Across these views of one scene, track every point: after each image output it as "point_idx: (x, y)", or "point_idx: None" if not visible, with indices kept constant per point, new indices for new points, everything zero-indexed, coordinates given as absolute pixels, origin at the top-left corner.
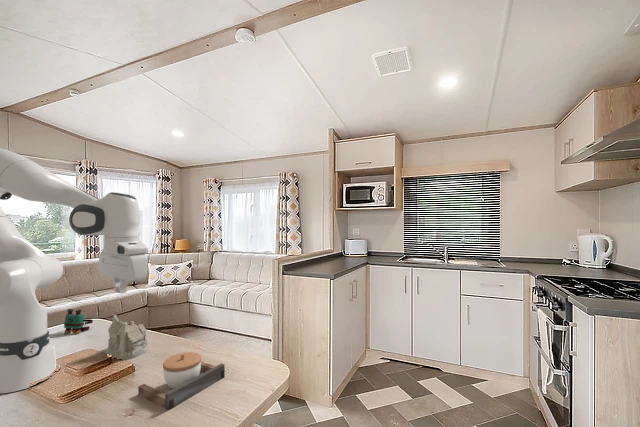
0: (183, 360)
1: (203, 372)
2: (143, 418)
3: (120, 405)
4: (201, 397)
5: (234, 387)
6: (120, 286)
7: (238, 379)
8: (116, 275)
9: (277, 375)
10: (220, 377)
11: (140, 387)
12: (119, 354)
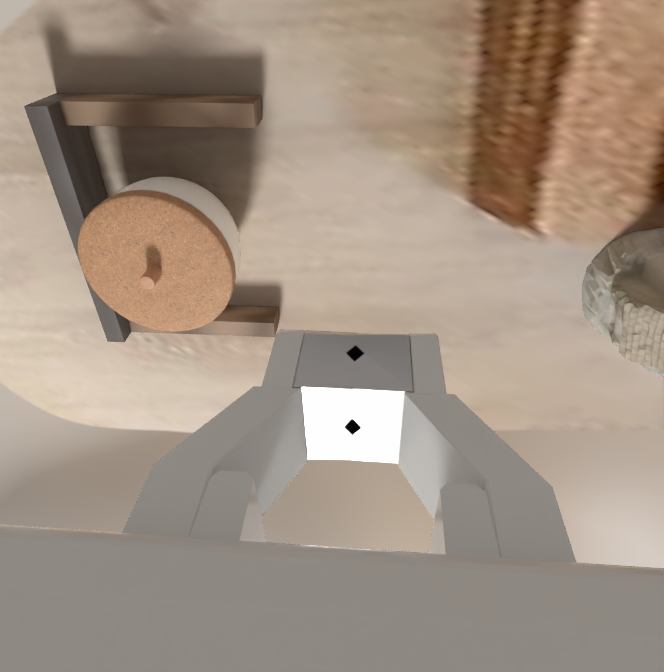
0: (137, 265)
1: None
2: (69, 4)
3: (242, 4)
4: None
5: (41, 287)
6: (249, 403)
7: (79, 323)
8: (207, 613)
9: (17, 379)
10: None
11: (237, 103)
12: (662, 242)
